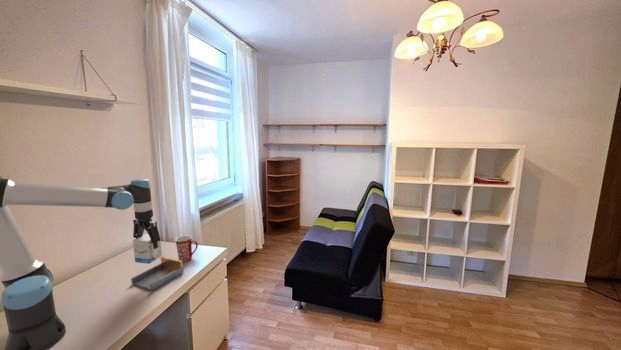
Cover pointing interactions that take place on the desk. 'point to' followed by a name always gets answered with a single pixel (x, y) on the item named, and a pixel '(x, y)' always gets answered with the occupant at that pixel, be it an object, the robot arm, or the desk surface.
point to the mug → (185, 247)
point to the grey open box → (159, 274)
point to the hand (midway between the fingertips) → (148, 252)
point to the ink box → (145, 250)
